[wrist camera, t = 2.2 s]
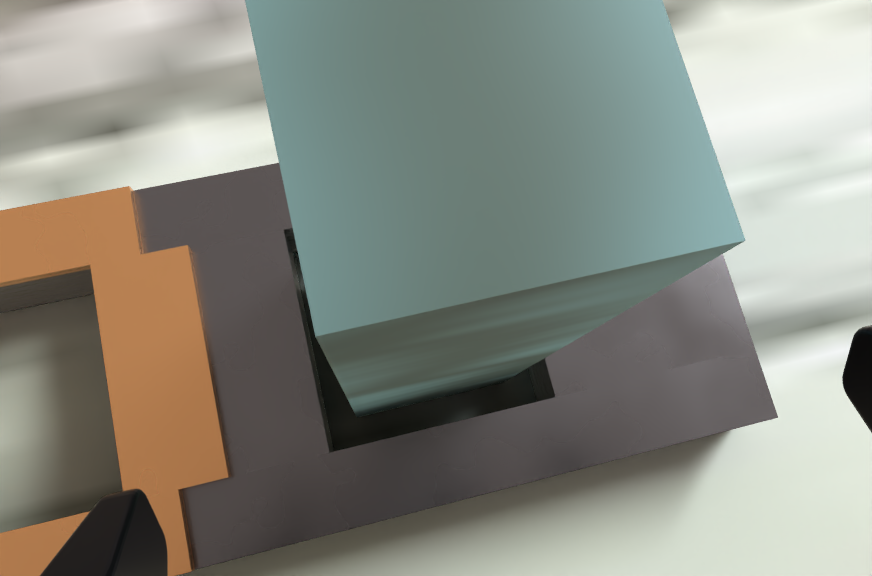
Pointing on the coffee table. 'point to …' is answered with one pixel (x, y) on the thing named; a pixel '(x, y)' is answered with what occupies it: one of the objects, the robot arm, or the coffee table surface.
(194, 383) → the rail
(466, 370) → the peg
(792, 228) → the coffee table surface
